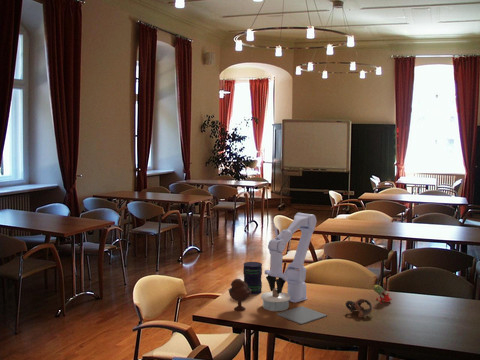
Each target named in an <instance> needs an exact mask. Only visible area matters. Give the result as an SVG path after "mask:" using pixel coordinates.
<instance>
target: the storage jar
mask: <svg viewBox="0 0 480 360" xmlns="http://www.w3.org/2000/svg"><path fill="white" fill-rule="evenodd" d="M262 274H263V264H262V263H261V262H259V261H247V262H244V263H243V280H242V281H243V282H245V283H246V284H247V285H248V288H250V289H251V295H253V296H254V295H260V294H261V293H262V292H263V291H262V289H263V288H262V287H263V283H262V282H263V281H262V276H263V275H262ZM251 295H250V296H251Z"/></svg>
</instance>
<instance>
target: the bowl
mask: <svg viewBox="0 0 480 360" xmlns="http://www.w3.org/2000/svg"><path fill="white" fill-rule="evenodd" d="M289 305H290V301H286V302H268V301H265V300H263V299H262V308H263V309H264V310H267V311H271V312H283V311H287V310H289V308H290V307H289Z"/></svg>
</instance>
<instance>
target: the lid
mask: <svg viewBox="0 0 480 360" xmlns="http://www.w3.org/2000/svg"><path fill="white" fill-rule="evenodd" d="M260 297H261V299H262V301H263V300H265V301H268V302H286V301H289V300H290V295H289V294H287V293H286V292H281V293H279V294H278V293H277V287H275V288H273V291H267V292H264V293H262V294H261V295H260ZM289 302H290V301H289Z"/></svg>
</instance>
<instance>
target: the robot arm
mask: <svg viewBox="0 0 480 360" xmlns="http://www.w3.org/2000/svg"><path fill="white" fill-rule="evenodd" d="M317 222H318V221H317V217H316V215H315V214H310V213H303V212H297V213H296V214H295V215H294V217H293V221H291V223H290V224H289V225H288V227H287V228H285V229H282V230H281V232H280V233H279V234H278V235H277V236H276V237H275V238H272V239H270V240H269V241H268V245H267V249H268V250H269V255H270V258H269V259H270V262H269V263H270V265H269V266H270V267H269V268H270V269H264V275H267V276H265V279H266V280H267V282H268V286H269V290H270V292H273V288H277V293H278V294H279V293H281V292H282V291H283V288H284V286H285V283H287V291H286V292H287V294H289V295H290V300H289V302H291V303H295V304H296V303H299V302H303V301H305V300H308V297H307V284H306V282H305V281H306V277H307V269H306V267H305V260H306V258H307V257H306V256H307V254H308V251H309V247H310V243H311V240H312V237H313V233H314V232H315V229H316V227H317V226H316V225H317ZM297 230H300V231H301V234H300V238H299V241H298V244H297V246H296V247H297V248H296V251H295V253H294V257H293V261H292V262H290V263H289V264H287V266H286V268H285V270H284V272H283V252H285V249H286V246H287V245H288V243H289V242H290V241H291V240H292V237H293V234H294V233H295V232H296V231H297Z"/></svg>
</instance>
